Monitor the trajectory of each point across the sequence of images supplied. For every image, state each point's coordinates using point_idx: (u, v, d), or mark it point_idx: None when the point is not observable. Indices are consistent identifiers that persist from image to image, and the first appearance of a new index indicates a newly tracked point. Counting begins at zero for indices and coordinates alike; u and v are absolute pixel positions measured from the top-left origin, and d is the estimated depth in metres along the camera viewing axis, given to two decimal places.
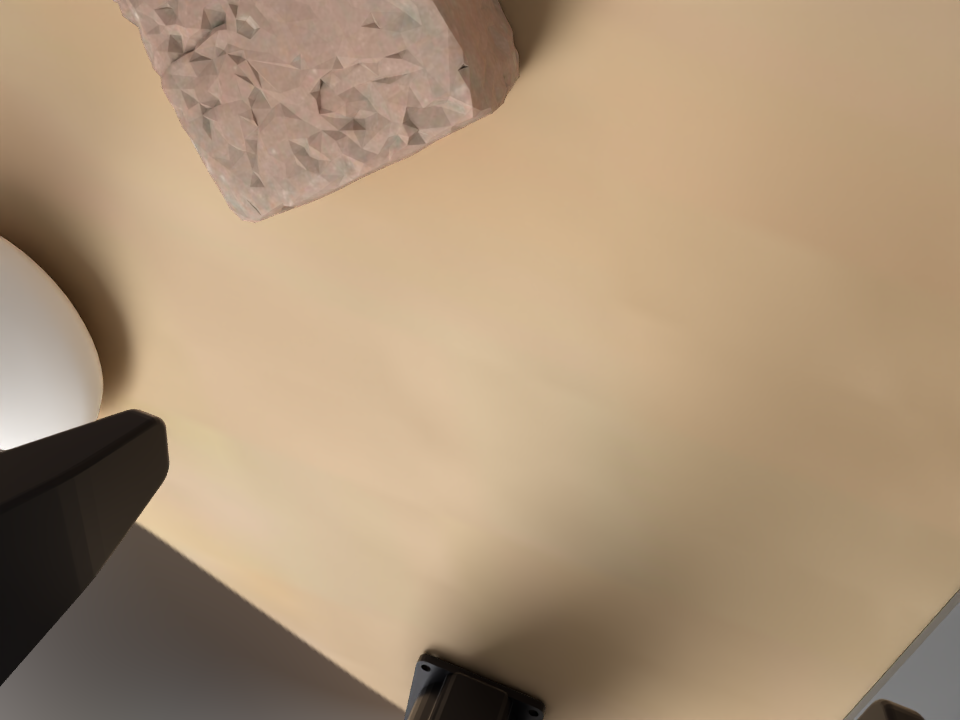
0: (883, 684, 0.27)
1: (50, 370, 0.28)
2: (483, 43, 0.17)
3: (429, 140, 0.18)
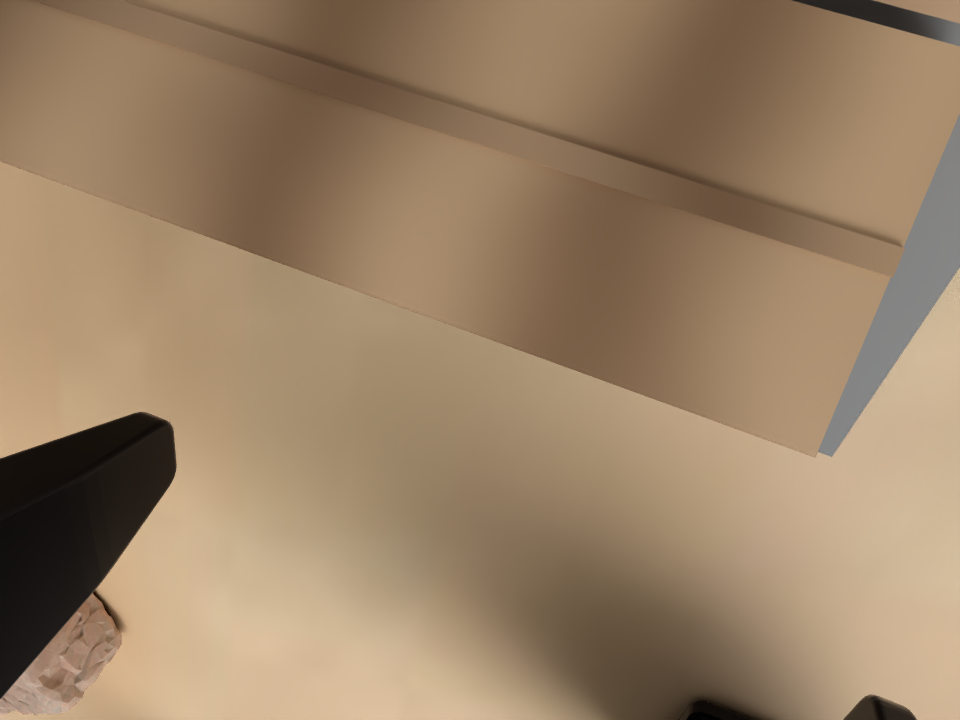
0: None
1: None
2: None
3: None
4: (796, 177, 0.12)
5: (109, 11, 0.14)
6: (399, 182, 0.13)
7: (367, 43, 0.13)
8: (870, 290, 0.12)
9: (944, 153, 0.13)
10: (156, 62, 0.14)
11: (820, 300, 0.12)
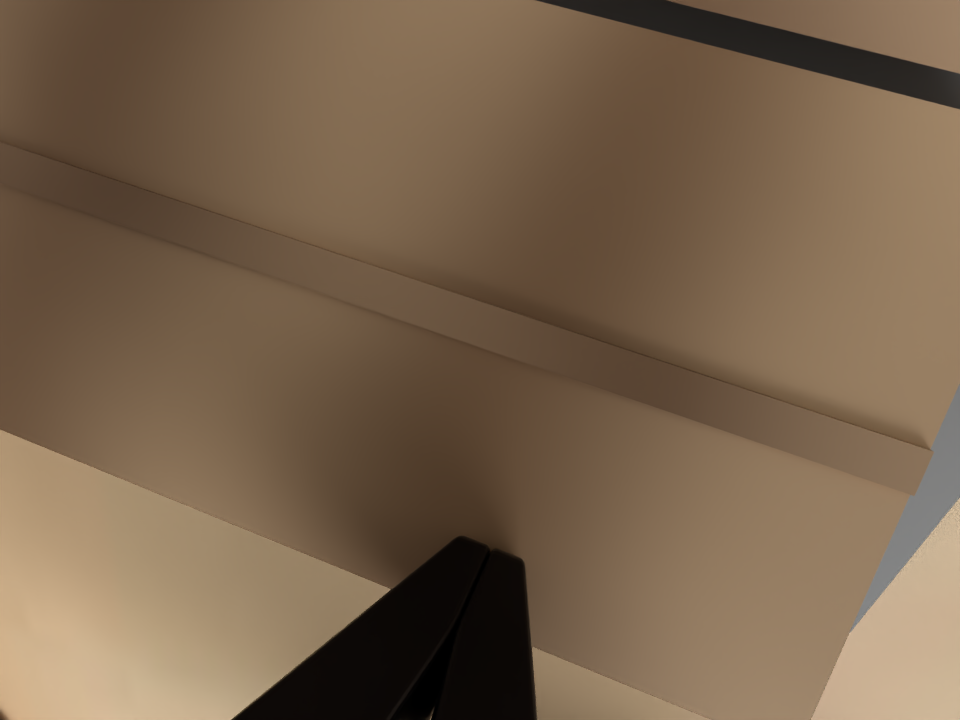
0: None
1: None
2: None
3: None
4: (759, 334, 0.08)
5: None
6: (179, 332, 0.09)
7: (122, 130, 0.09)
8: (878, 511, 0.08)
9: None
10: None
11: (800, 524, 0.08)
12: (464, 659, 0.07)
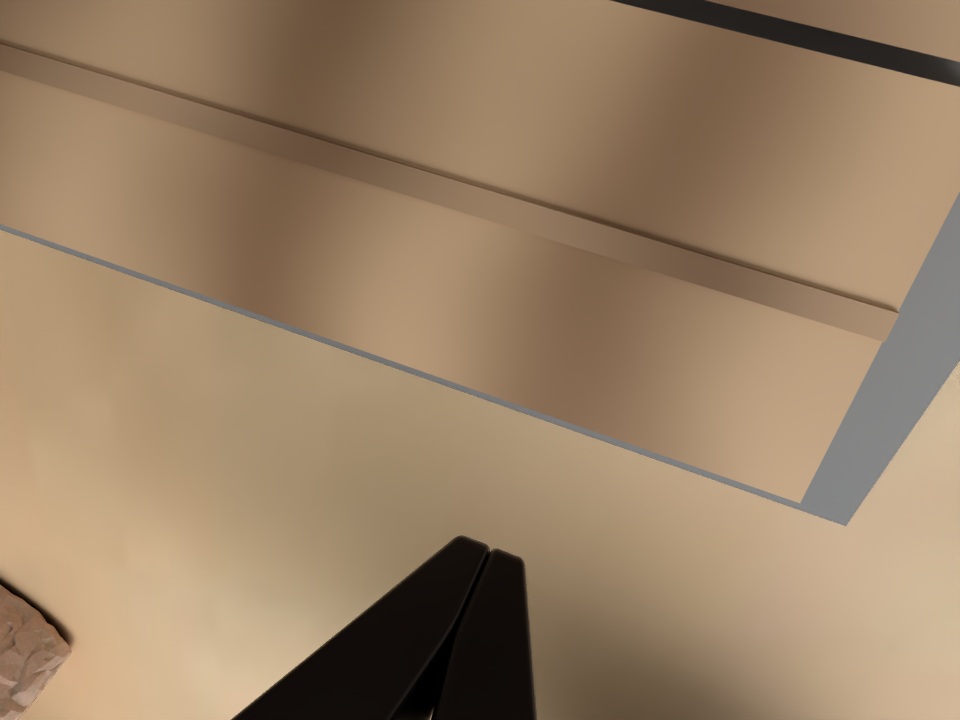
0: (467, 391, 0.17)
1: None
2: None
3: None
4: (786, 239, 0.11)
5: (78, 79, 0.14)
6: (382, 247, 0.13)
7: (333, 105, 0.13)
8: (861, 352, 0.12)
9: None
10: (133, 131, 0.14)
11: (808, 362, 0.12)
12: (464, 659, 0.07)
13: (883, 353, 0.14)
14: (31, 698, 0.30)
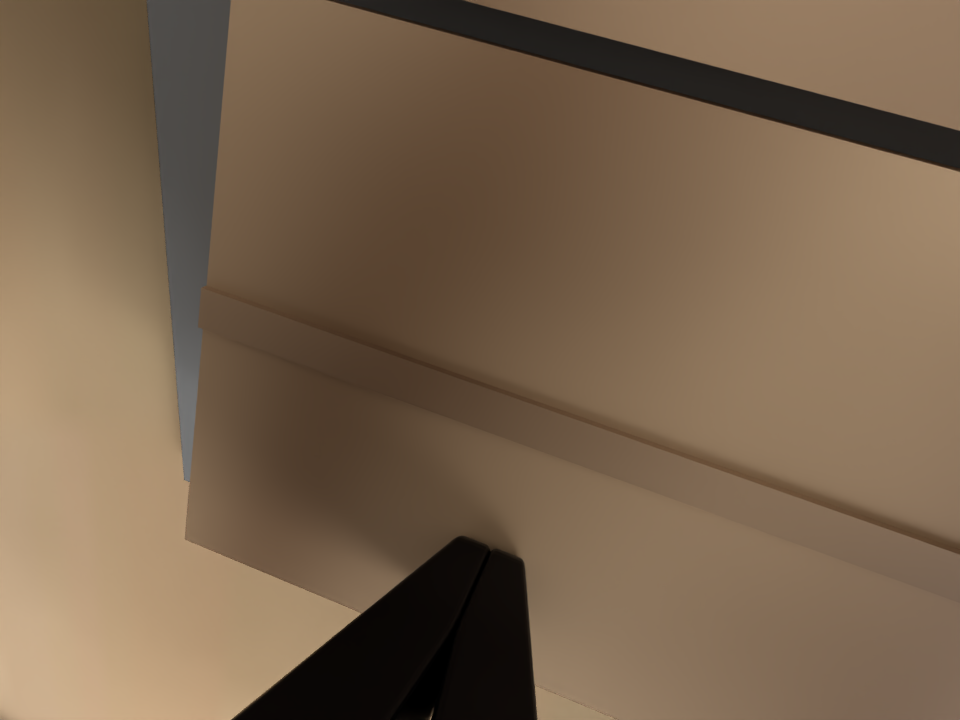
0: None
1: None
2: None
3: None
4: None
5: (595, 443, 0.08)
6: None
7: None
8: None
9: None
10: (691, 535, 0.08)
11: None
12: (464, 659, 0.07)
13: None
14: None
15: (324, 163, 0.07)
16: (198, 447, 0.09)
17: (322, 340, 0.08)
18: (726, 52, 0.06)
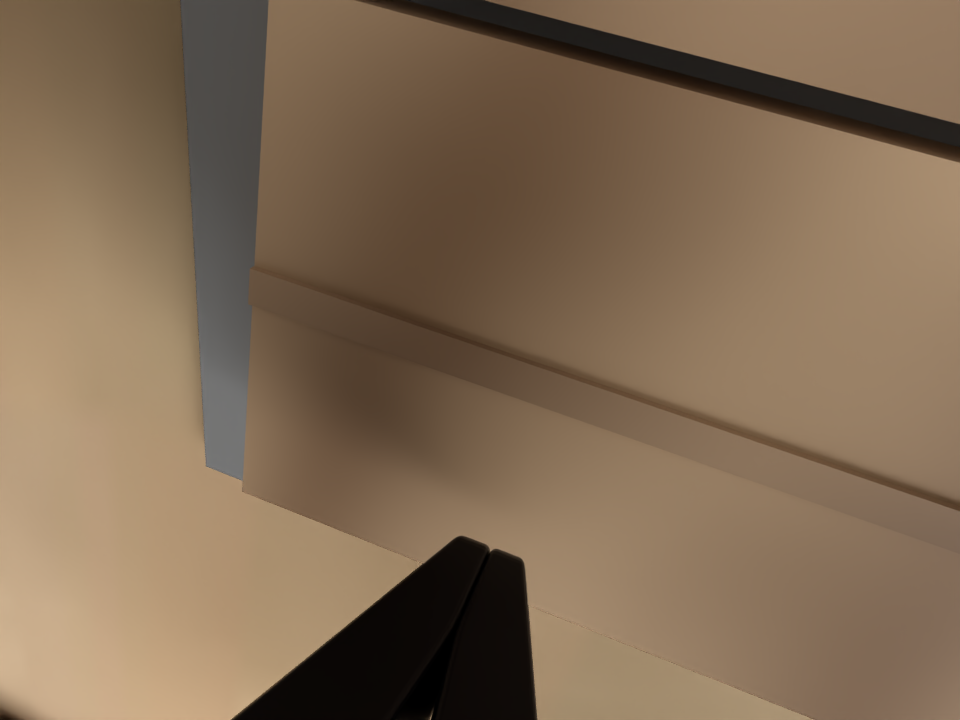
0: None
1: None
2: None
3: None
4: None
5: (615, 408, 0.08)
6: None
7: None
8: None
9: None
10: (703, 489, 0.09)
11: None
12: (464, 659, 0.07)
13: None
14: None
15: (361, 155, 0.08)
16: (250, 410, 0.10)
17: (363, 316, 0.09)
18: (737, 50, 0.06)
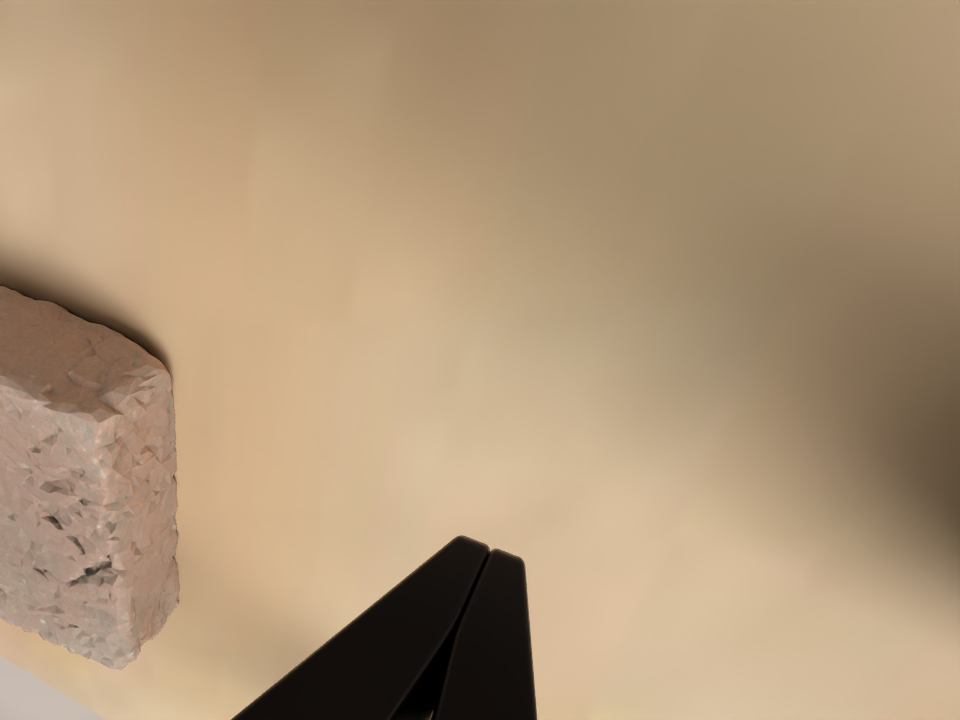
0: None
1: None
2: None
3: None
4: None
5: None
6: None
7: None
8: None
9: None
10: None
11: None
12: (464, 659, 0.07)
13: None
14: (124, 403, 0.24)
15: None
16: None
17: None
18: None
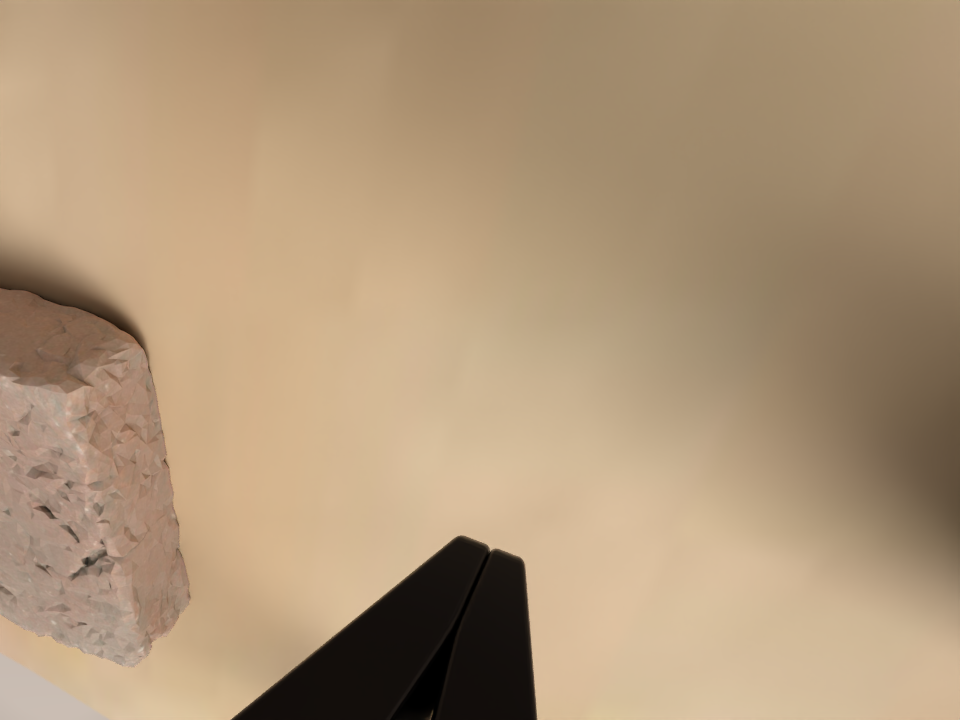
0: None
1: None
2: None
3: None
4: None
5: None
6: None
7: None
8: None
9: None
10: None
11: None
12: (464, 659, 0.07)
13: None
14: (94, 375, 0.24)
15: None
16: None
17: None
18: None
